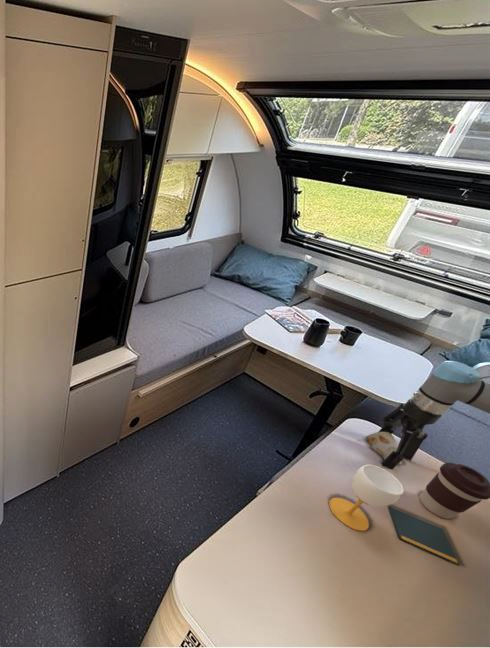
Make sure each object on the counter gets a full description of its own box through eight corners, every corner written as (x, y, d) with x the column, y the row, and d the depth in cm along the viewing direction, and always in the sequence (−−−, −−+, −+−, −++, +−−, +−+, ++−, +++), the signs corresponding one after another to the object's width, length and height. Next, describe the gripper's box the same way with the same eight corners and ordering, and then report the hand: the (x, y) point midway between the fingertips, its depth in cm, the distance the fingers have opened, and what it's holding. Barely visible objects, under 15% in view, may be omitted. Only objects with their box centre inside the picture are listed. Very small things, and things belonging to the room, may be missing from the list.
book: (442, 529, 97) (443, 528, 96) (458, 565, 89) (460, 564, 89) (387, 506, 101) (388, 505, 101) (399, 539, 93) (400, 538, 93)
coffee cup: (444, 528, 97) (485, 496, 89) (404, 494, 105) (438, 462, 97) (466, 519, 100) (508, 488, 92) (425, 487, 108) (460, 455, 100)
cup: (325, 512, 98) (358, 477, 90) (332, 491, 104) (363, 456, 95) (366, 538, 93) (404, 503, 84) (370, 515, 98) (407, 480, 90)
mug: (384, 469, 113) (383, 438, 112) (362, 455, 122) (360, 426, 122) (412, 469, 111) (410, 438, 111) (387, 454, 121) (385, 426, 120)
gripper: (397, 379, 116) (359, 425, 128) (424, 426, 98) (377, 475, 110) (427, 388, 114) (385, 434, 125) (459, 439, 96) (407, 487, 107)
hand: (381, 453), depth 117 cm, fingers open, 10 cm apart
